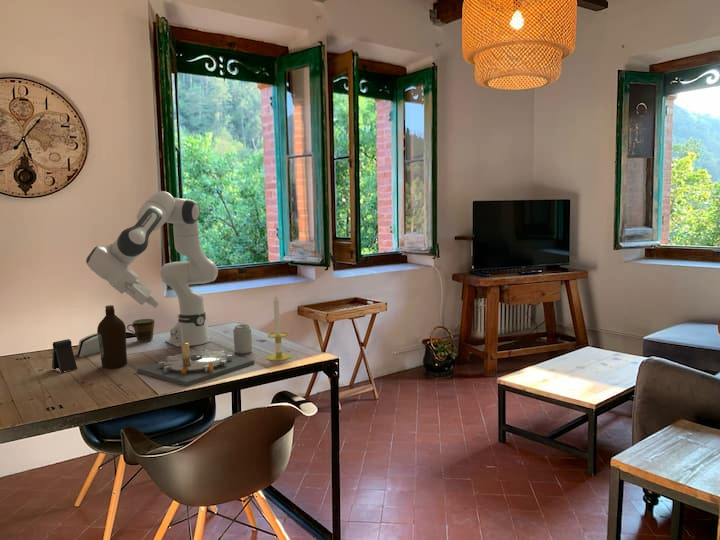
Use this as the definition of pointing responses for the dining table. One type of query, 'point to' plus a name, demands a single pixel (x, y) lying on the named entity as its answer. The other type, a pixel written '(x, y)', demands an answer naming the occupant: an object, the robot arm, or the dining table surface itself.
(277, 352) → the candle
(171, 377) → the index plate
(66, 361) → the door stopper
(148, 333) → the ceramic cup
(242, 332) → the can
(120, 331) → the olive oil
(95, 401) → the dining table surface
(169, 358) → the sprocket
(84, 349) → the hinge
